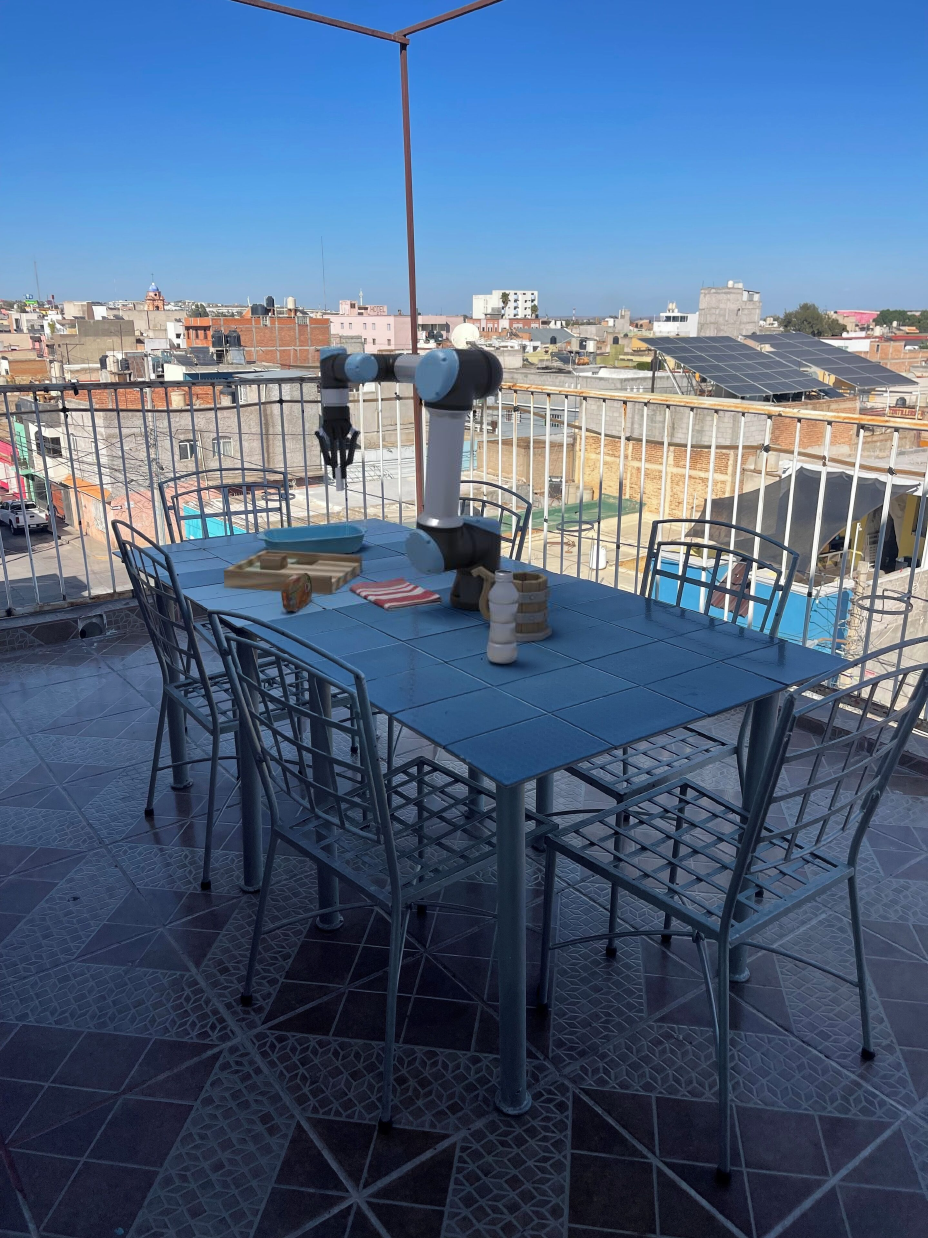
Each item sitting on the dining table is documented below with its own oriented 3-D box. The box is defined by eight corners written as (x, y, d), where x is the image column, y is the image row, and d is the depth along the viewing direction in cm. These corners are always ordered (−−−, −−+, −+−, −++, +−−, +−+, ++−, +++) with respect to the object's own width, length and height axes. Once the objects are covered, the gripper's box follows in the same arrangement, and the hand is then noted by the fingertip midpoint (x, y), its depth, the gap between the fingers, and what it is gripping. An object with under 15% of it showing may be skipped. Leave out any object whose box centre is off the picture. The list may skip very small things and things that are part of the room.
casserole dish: (263, 563, 269) (262, 541, 267) (253, 548, 289) (252, 528, 287) (376, 554, 282) (375, 533, 280) (359, 541, 302) (358, 521, 300)
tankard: (558, 630, 204) (560, 570, 200) (534, 645, 194) (537, 581, 189) (485, 617, 214) (486, 559, 209) (459, 631, 203) (460, 570, 199)
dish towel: (402, 584, 246) (402, 575, 245) (443, 604, 227) (443, 594, 226) (348, 592, 237) (348, 583, 237) (387, 613, 219) (387, 603, 218)
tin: (291, 615, 214) (290, 583, 212) (280, 615, 215) (278, 582, 212) (313, 600, 228) (312, 569, 226) (302, 599, 229) (301, 568, 226)
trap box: (330, 594, 233) (329, 576, 232) (224, 587, 240) (223, 570, 238) (362, 571, 259) (361, 555, 257) (265, 565, 265) (264, 549, 263)
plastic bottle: (498, 654, 187) (500, 566, 181) (523, 661, 183) (526, 571, 177) (480, 662, 182) (481, 571, 177) (505, 669, 178) (507, 577, 172)
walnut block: (279, 570, 246) (278, 559, 245) (260, 569, 247) (259, 557, 246) (287, 566, 252) (287, 554, 251) (269, 564, 253) (268, 553, 252)
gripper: (362, 404, 237) (366, 489, 244) (318, 404, 240) (322, 488, 246) (354, 405, 230) (358, 492, 237) (308, 405, 233) (313, 491, 239)
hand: (340, 490), depth 242 cm, fingers closed
